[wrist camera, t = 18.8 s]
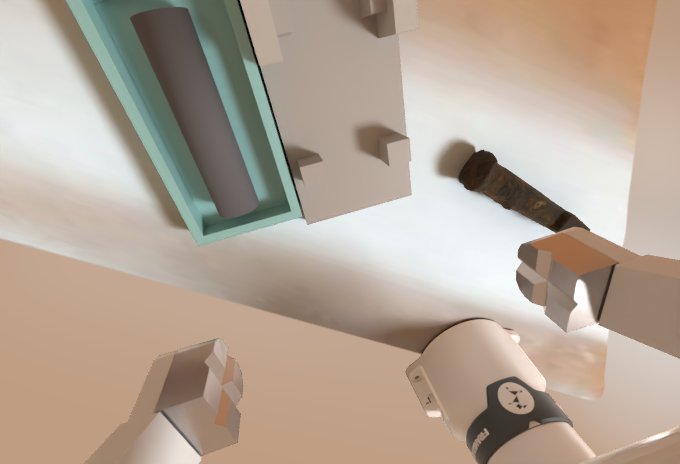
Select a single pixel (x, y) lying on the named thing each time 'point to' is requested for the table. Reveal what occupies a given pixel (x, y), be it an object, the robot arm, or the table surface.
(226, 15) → the tray
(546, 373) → the table surface
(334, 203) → the cradle
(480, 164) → the hand tool
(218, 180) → the dark grey cylinder
